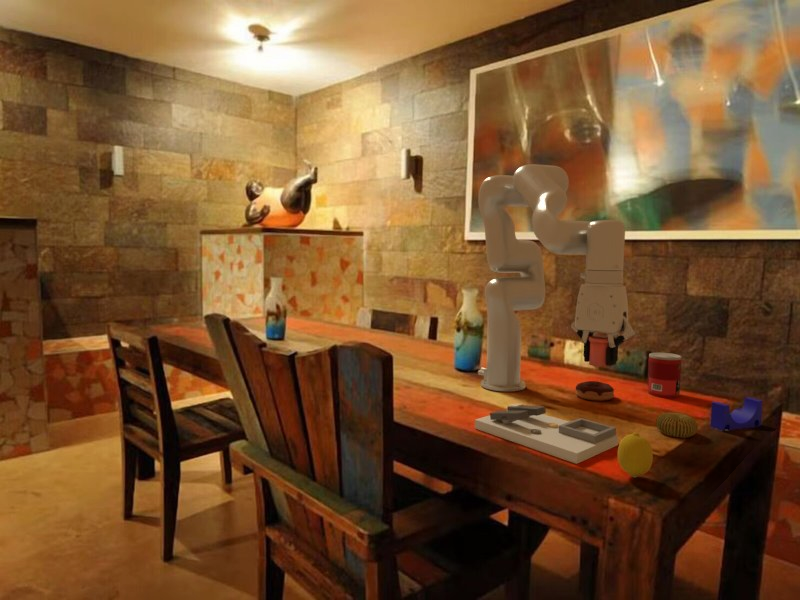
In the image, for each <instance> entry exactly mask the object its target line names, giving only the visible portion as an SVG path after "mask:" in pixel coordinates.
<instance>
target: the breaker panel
mask: <svg viewBox="0 0 800 600" xmlns="http://www.w3.org/2000/svg"><path fill="white" fill-rule="evenodd" d="M505 411H508V409H506V410H505ZM474 429H476V430H478V431H481V432H484V433H487V434H490V435H492V436H496V437H499V438H501V439H504V440H506V441H510V442H512V443H515V444H518V445H521V446H524V447H527V448H530V449H532V450H536V451H537V452H541V453H543V454H544V453H545V454H547V455H550V456H553V457H556V458H559V459H561V460H564V461H567V462H570V463H573V464H576V465H578V464H579V463H581V462H584V461H586V460H588V459H591V458H592V457H595V456H596V455H599V454H602V453H604V452H606V451H608V450H610V449H612V448H614V447H617V446H619V434H617V427H615V426H612V425H608V424H603V423H601V422H598V421H597V422H596V421H593V420H590V419H586V418H582V417H579V418H576V419H574V420H570V421H568V420H565V419H561V418H558V417H554V416H550V415H547V414H545V413H544V414H541V415H538V416H535V415H533V416H530V417H528V418H525V419H522V420H516V421H514V422H511V423H508V424H504V423H503V422H502V420H491V418H490V414H489V415H487V416H483V417H480V418H476V419H474Z"/></svg>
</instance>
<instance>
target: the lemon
mask: <svg viewBox="0 0 800 600" xmlns="http://www.w3.org/2000/svg"><path fill="white" fill-rule="evenodd" d="M651 445H652V444H651V443H650V441H649V440H648V439H647V438H646V437H644V436H643V435H641V434H639V432H635V431H634V432H633V433H630V434H626V435H625V436H623V437H622V439H621V440H620V442H619V443H618V448H617V461H618V464H619V465H620V466H619V467H621V469H622V470H623V471H624V472H625V473H627V474H629V475H630V477H631V478H634V479H635V478H637V477H639V476H642V475H645V474H646V473H648V472H649V471H650V469H651V467H652V465H653V462H654V461H653V459H654V457H653V456H654V455H653V450H652V446H651Z"/></svg>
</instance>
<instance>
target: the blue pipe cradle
mask: <svg viewBox="0 0 800 600" xmlns="http://www.w3.org/2000/svg"><path fill="white" fill-rule="evenodd" d="M730 410H731V409H730V405H729V404H726V403H723V402H719V401H712V402H711V410H710V411H711V413H710V427H713V428H717V429H719V430H722V431H725V429H728V430H733V429H739V430H743V428H745V429H751V428H755V427H756V428H757V427H758V428H759V427H761V426H762V416H763V400H762V399H758V398H753V397H749V396H748V397H744V403H743V406H742V408H735V409H734V410H732V411H731V412H730ZM750 427H751V428H750ZM733 431H734V430H733Z"/></svg>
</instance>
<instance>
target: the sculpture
mask: <svg viewBox="0 0 800 600" xmlns="http://www.w3.org/2000/svg"><path fill="white" fill-rule="evenodd" d="M655 420H656V421H655V424H656V427H657V430H658V431H660V432H661V433H663V434H665V435H667V436H670V437H674V438H685V439H686V437H687V438H690V437H691V438H692V437H694V436H695V435H696V434H697V432H698V429H699V424H698V423H697V420H696V419H694V418H693V417H692V416H690V415H688V414H684V413H680V412H673V411H671V412H670V411H669V412H663V413H661V414H659V415H658V416H657V417H656V419H655Z"/></svg>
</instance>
